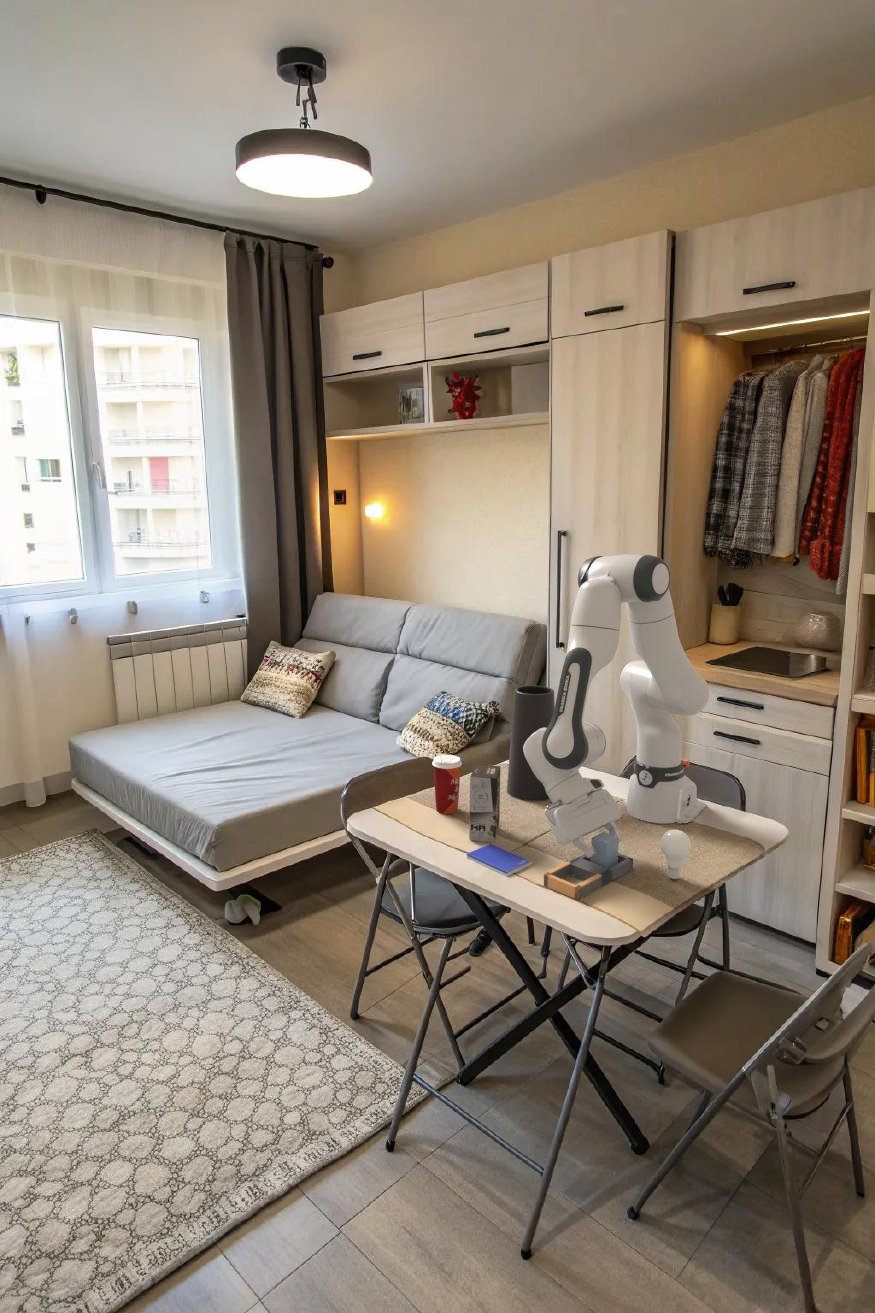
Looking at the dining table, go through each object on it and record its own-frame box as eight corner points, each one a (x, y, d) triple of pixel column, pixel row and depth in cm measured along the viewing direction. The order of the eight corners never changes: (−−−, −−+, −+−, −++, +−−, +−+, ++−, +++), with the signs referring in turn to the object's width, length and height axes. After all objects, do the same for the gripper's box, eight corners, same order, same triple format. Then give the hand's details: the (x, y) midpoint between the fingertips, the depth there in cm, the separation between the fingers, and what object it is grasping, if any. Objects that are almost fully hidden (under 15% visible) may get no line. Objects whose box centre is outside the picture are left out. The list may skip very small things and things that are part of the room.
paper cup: (459, 816, 212) (460, 764, 209) (429, 814, 213) (429, 762, 210) (463, 805, 220) (463, 754, 217) (434, 803, 221) (434, 753, 218)
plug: (602, 863, 186) (603, 831, 185) (617, 869, 184) (618, 837, 182) (590, 869, 183) (591, 837, 182) (605, 875, 180) (607, 843, 179)
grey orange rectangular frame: (598, 856, 190) (599, 845, 189) (632, 869, 183) (633, 857, 183) (543, 885, 176) (544, 873, 175) (578, 900, 170) (578, 887, 169)
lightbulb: (693, 878, 179) (697, 830, 177) (680, 888, 175) (683, 839, 172) (666, 869, 183) (669, 822, 181) (652, 879, 179) (655, 831, 177)
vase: (564, 798, 225) (568, 694, 219) (517, 803, 221) (519, 697, 215) (545, 781, 237) (548, 682, 231) (500, 785, 234) (501, 685, 228)
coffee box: (495, 843, 197) (496, 778, 193) (468, 840, 198) (469, 776, 195) (500, 827, 205) (501, 765, 202) (474, 825, 207) (475, 763, 203)
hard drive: (531, 860, 185) (491, 843, 194) (506, 871, 180) (466, 853, 189) (531, 867, 186) (491, 849, 195) (506, 878, 180) (466, 859, 189)
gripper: (550, 800, 178) (585, 857, 173) (605, 777, 192) (639, 830, 187) (533, 814, 182) (567, 870, 177) (588, 791, 196) (622, 842, 191)
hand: (605, 849), depth 182 cm, fingers open, 8 cm apart
